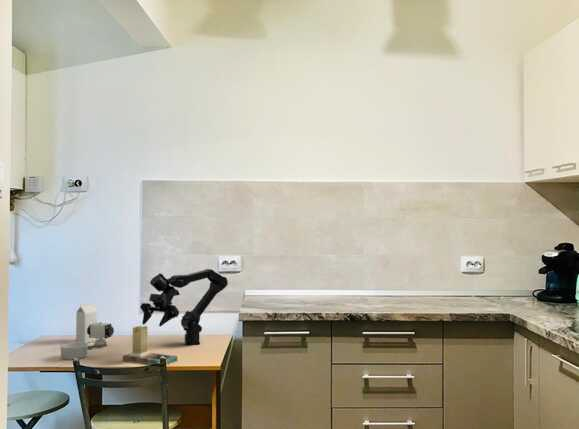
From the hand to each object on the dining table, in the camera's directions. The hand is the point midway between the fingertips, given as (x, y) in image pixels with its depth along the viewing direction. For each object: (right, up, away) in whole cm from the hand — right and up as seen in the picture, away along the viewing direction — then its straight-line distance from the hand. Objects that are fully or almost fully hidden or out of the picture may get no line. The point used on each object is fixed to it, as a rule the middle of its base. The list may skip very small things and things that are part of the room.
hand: (151, 325), depth 220 cm
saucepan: (-29, -14, -4) cm, 32 cm away
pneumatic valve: (-29, -14, +15) cm, 35 cm away
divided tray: (+2, -13, -10) cm, 17 cm away
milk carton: (-40, -14, +26) cm, 50 cm away
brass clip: (-3, -10, -8) cm, 13 cm away
